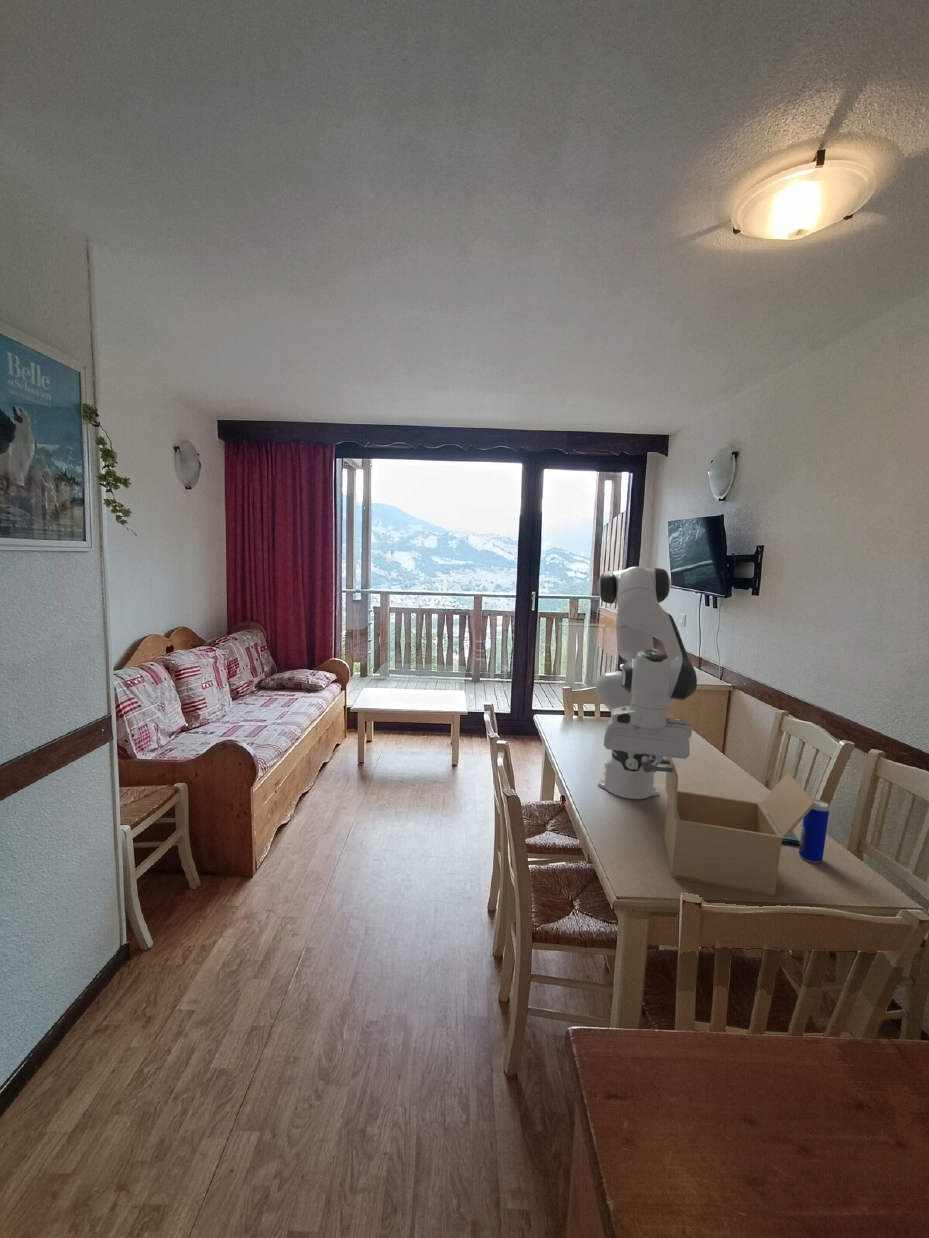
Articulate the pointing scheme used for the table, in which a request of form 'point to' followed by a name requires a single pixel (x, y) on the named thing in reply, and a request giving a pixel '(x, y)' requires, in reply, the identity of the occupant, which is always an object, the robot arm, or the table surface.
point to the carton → (722, 843)
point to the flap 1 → (670, 779)
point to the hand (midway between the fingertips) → (643, 770)
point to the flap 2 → (787, 804)
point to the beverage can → (814, 832)
